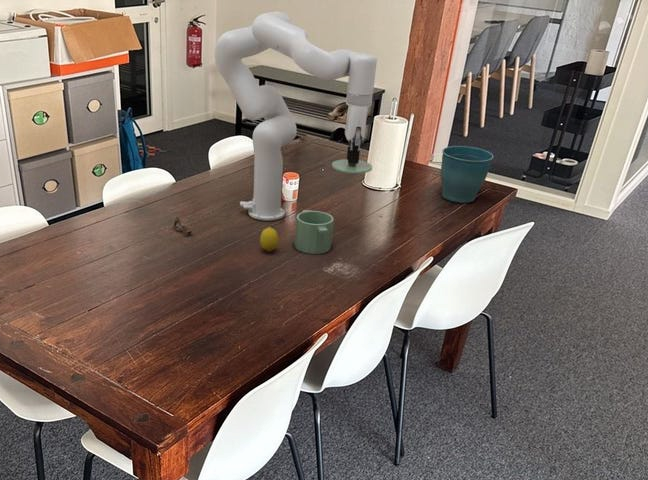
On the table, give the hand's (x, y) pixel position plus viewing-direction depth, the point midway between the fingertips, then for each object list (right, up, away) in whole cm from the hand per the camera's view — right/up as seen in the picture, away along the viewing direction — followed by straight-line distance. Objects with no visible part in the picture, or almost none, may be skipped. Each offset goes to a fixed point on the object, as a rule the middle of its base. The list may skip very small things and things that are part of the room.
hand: (352, 161), depth 210 cm
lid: (0, -2, +1) cm, 2 cm away
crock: (-12, -26, +4) cm, 29 cm away
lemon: (-26, -28, 0) cm, 38 cm away
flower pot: (+46, -1, +46) cm, 65 cm away
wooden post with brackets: (-54, -20, +10) cm, 59 cm away
